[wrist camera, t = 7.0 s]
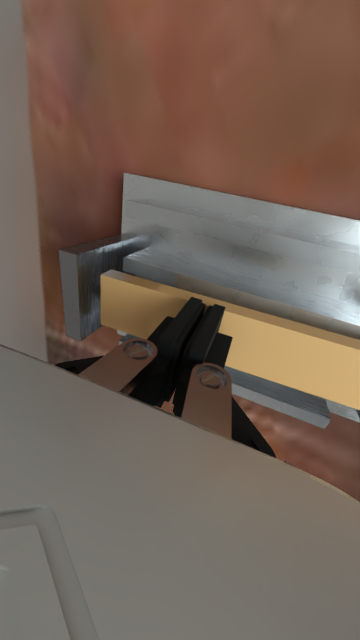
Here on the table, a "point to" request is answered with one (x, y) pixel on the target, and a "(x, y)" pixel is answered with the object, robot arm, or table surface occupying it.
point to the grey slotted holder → (228, 269)
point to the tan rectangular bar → (244, 337)
